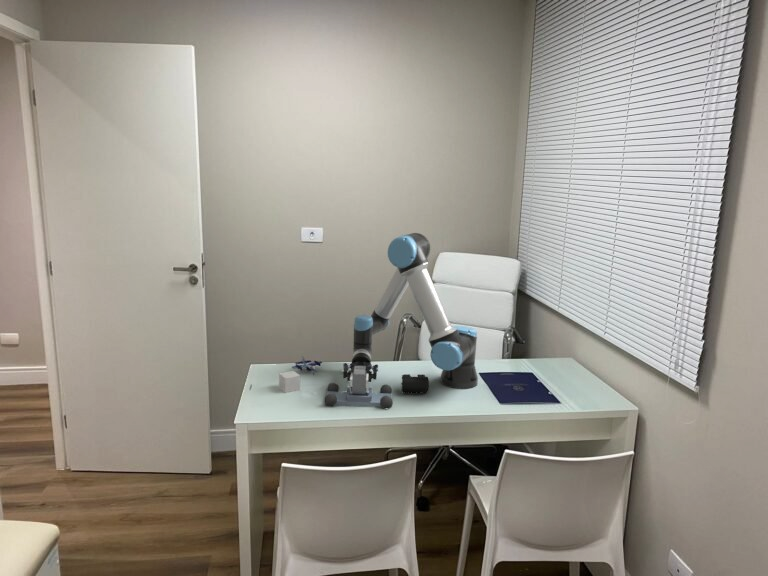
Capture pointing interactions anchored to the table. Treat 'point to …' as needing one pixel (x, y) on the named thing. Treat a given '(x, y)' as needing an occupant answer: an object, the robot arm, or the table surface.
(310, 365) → the toy airplane
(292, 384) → the light grey cube
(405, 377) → the black arched housing
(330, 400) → the chassis
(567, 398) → the table surface
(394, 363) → the table surface
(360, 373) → the capped grey pillar
